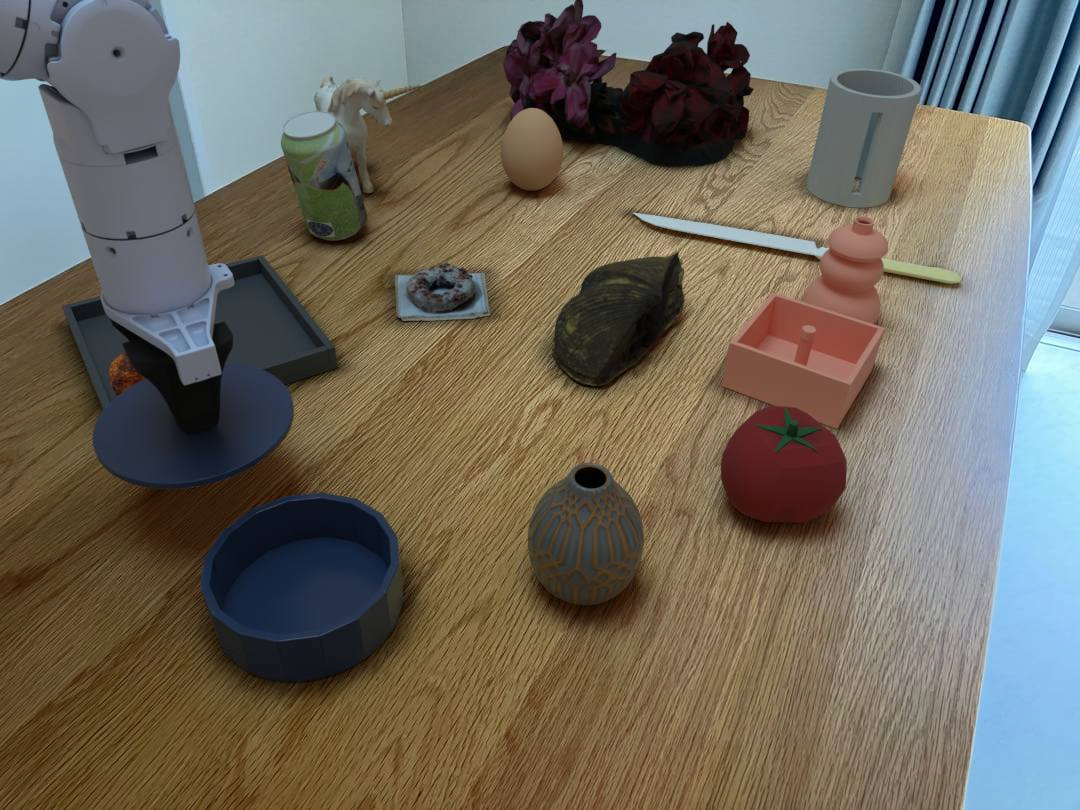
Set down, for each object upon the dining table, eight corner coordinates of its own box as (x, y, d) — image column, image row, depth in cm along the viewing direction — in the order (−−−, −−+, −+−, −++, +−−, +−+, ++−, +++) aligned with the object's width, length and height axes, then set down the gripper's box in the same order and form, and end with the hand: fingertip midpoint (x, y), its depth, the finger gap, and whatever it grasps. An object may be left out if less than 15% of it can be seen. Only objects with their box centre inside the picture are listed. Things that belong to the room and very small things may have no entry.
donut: (394, 322, 77) (393, 302, 76) (395, 276, 83) (394, 257, 82) (490, 318, 78) (490, 298, 77) (484, 273, 84) (484, 254, 83)
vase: (580, 521, 59) (587, 420, 54) (660, 580, 55) (677, 478, 50) (503, 577, 55) (503, 474, 50) (584, 644, 51) (593, 540, 46)
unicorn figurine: (369, 228, 90) (355, 98, 82) (288, 163, 102) (269, 43, 94) (430, 211, 94) (422, 84, 86) (345, 149, 106) (331, 32, 98)
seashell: (629, 399, 69) (616, 319, 65) (532, 383, 74) (515, 308, 70) (710, 301, 80) (703, 228, 76) (621, 293, 84) (611, 224, 81)
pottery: (837, 429, 67) (870, 319, 61) (721, 386, 71) (741, 279, 65) (900, 321, 79) (934, 221, 73) (799, 289, 83) (822, 192, 77)
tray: (114, 439, 64) (106, 417, 63) (69, 326, 76) (61, 305, 74) (338, 368, 72) (334, 346, 70) (266, 274, 83) (262, 254, 82)
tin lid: (122, 524, 50) (99, 464, 47) (79, 410, 58) (57, 352, 55) (323, 452, 55) (314, 393, 52) (259, 356, 63) (248, 300, 60)
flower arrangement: (749, 120, 116) (770, -2, 107) (737, 181, 101) (760, 46, 92) (520, 93, 122) (521, -25, 113) (476, 148, 107) (473, 17, 98)
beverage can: (380, 228, 91) (369, 112, 83) (330, 257, 86) (313, 137, 78) (334, 212, 93) (319, 98, 86) (283, 239, 88) (262, 121, 81)
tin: (250, 716, 47) (237, 674, 45) (192, 579, 55) (178, 536, 52) (434, 627, 52) (431, 585, 50) (359, 512, 59) (352, 470, 57)
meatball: (123, 420, 65) (108, 376, 63) (113, 393, 68) (98, 350, 65) (173, 405, 67) (160, 362, 64) (162, 379, 69) (149, 337, 67)
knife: (635, 204, 95) (624, 215, 91) (961, 262, 87) (965, 276, 83) (634, 216, 96) (623, 227, 92) (957, 274, 87) (961, 289, 83)
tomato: (852, 530, 59) (880, 448, 55) (743, 554, 57) (763, 471, 53) (792, 452, 65) (813, 373, 60) (692, 472, 63) (706, 391, 59)
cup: (858, 168, 105) (885, 65, 98) (906, 202, 98) (939, 93, 91) (791, 177, 103) (814, 72, 95) (835, 212, 96) (863, 101, 88)
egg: (550, 206, 95) (553, 124, 90) (491, 196, 97) (491, 115, 92) (569, 181, 101) (573, 102, 95) (513, 171, 102) (513, 94, 97)
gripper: (257, 254, 44) (297, 457, 53) (178, 152, 54) (222, 338, 62) (108, 292, 41) (175, 501, 50) (51, 176, 51) (116, 369, 59)
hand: (194, 413), depth 56 cm, fingers closed on tin lid, 2 cm apart
